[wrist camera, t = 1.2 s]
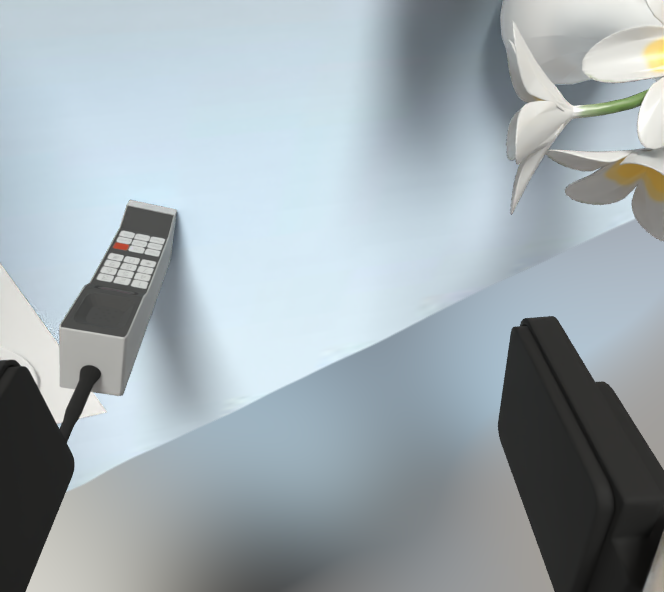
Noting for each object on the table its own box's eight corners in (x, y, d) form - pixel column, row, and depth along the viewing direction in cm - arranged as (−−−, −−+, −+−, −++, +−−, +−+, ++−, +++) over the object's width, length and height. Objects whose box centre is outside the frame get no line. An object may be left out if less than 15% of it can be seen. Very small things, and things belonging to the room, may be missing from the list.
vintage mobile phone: (177, 207, 46) (80, 456, 25) (171, 258, 49) (79, 520, 28) (130, 197, 45) (-9, 444, 25) (126, 250, 48) (-2, 511, 27)
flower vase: (390, -38, 37) (504, 48, 16) (686, -167, 33) (1286, -261, 13) (440, 144, 44) (562, 360, 23) (687, 52, 41) (1075, 209, 20)
